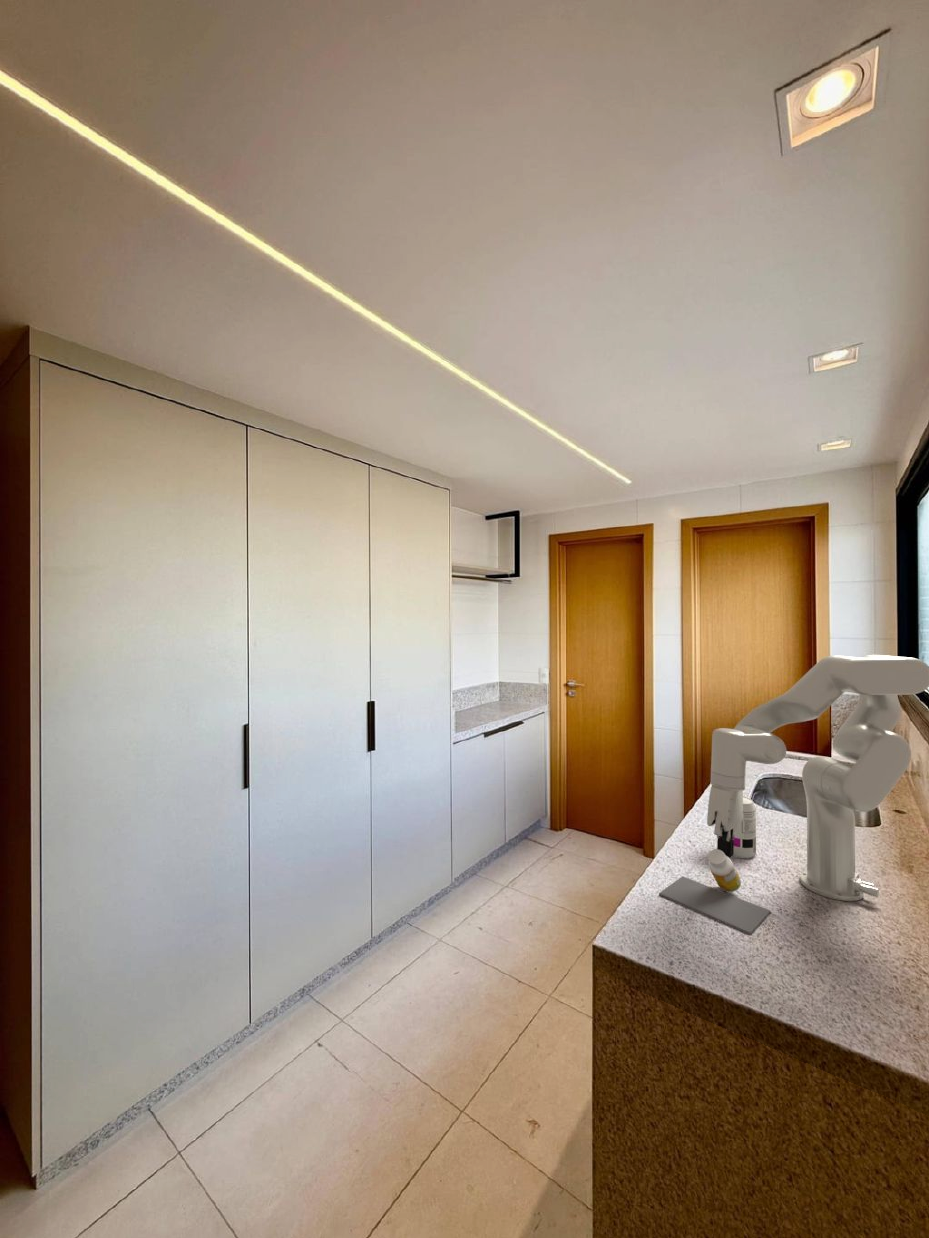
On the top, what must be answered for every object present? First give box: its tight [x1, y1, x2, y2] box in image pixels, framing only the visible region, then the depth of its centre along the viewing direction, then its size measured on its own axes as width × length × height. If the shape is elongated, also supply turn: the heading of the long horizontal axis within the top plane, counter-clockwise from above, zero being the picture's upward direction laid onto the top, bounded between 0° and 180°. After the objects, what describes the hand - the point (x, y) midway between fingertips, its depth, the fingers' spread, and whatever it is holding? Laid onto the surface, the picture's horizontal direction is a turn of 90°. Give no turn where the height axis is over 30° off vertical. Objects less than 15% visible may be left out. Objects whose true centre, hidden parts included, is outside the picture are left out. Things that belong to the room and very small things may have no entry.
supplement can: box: [732, 796, 757, 859], centre depth 140 cm, size 8×8×15 cm
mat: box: [658, 875, 772, 936], centre depth 114 cm, size 20×12×1 cm, turn 41°
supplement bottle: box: [707, 848, 742, 893], centre depth 119 cm, size 5×5×10 cm
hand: (725, 854), depth 121 cm, fingers closed
